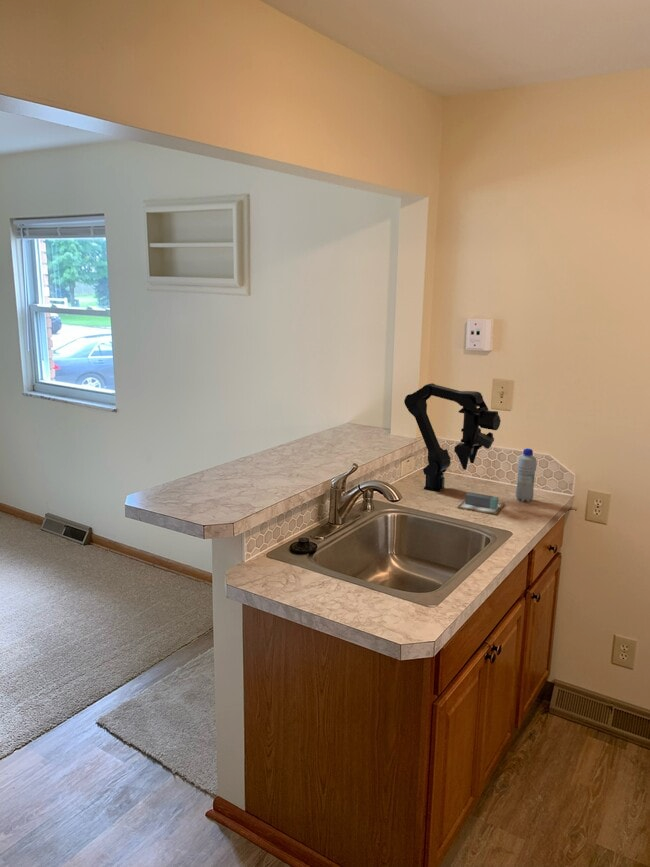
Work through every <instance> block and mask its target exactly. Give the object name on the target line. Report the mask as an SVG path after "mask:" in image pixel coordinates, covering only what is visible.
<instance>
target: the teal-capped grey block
mask: <svg viewBox="0 0 650 867" xmlns="http://www.w3.org/2000/svg"><path fill="white" fill-rule="evenodd" d="M465 499H466V500H465ZM465 499H464V500H465V504H469V505H474V506H480V507H485V508H491V509H496V508H497V507H498V503H499V496H493V495H490V494H487V495H486V494H483V493H481V494H480V493H475V492H470V491H469V492H467V493H466V494H465Z"/></svg>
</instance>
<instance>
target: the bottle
mask: <svg viewBox="0 0 650 867" xmlns="http://www.w3.org/2000/svg"><path fill="white" fill-rule="evenodd" d="M522 452H523V453H522V454H523V455H520V456H519V458H518V461H517V470H518V472H517V482H516V490H515V497H516V499H517V501H519V502H520V501H521V503H522V502H523V503H524V502H525V500H526V503H529V502H531V501H533V499H534V494H535V493H534V488H535V487H534V485H535V484H534V483H535V476H536V475H535V474H536V471H537V458H536V457H535V456H533V455H534V454H533V453H534V450H533V449H531V448H524V449H523V451H522Z"/></svg>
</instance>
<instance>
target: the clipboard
mask: <svg viewBox="0 0 650 867" xmlns="http://www.w3.org/2000/svg"><path fill="white" fill-rule="evenodd" d="M465 500H466V498H465V499H464V500H463V501H462V502H461V503H460V504H459V505H458V506H457V509H459V508H461V509H460V510H464V509H467V510H466V511H470V510H472V512H475V511H476V512H477V513H481V514H486V513H487V515H493V516H497V515H498V514H499V512H500V511H501V510H502V509H503V508H504V507H505V505H506V504H505V503H502V502H498V507H497V508H496V509H491V508H485V507H480V506H474V505H469V504H465Z"/></svg>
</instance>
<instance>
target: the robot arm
mask: <svg viewBox="0 0 650 867" xmlns="http://www.w3.org/2000/svg"><path fill="white" fill-rule="evenodd" d="M432 396H433V397H436V398H441V399H443V400H444V399H445V400H448V401H451V402H454V403H456V404H458V405H459V406H461V407H462V408H461V409H460V410H458V413H460V414H463V422H462V423H463V424H462V428H461V430H460V431H461V433H462V438H461V439H460V442H459V443H458V444H456V445H455V446H454V449H453V450H454V453H455V454H456V456H457V458H458V460H459V463H460V465H461V467H462V469H463V470H467V467H468V464H469V462H470V464H475V463H474V462H475V460H476V457H477V454H478V450H479V449H481V447H483V448H485V449H490V448H491V447H492V445H493V444H494V442H495V437H494V433H492V432H490V431H489V432H488V433H487V434H486V433H482V429H486V430H491V431H497V430H499V428H500V425H501V421H502V420H501V417H500V415H499V411H497V410H490V409H489V407H488V406H487V404H486V402H485V401H484V398H483V395H482V392H480V391H474V390H457V389H454V388H450V387H447V386H442V385H438V384H436V383H433V382H431V383H428V384H425V385H423V386H422V387H421V388H419V389H418V390H416V391H414V392H413V393H409V394H406V396H405V398H404V401H403V402H404V405H405V407H406V409H407V410H408V413H410V414H411V416H413V417H414V419H415V421H416V424H417V426H418V428H419V432H420V433H421V436H422V438H423V442H424V444H425V447H426V449H427V463H428V464H427V465H426V466H425V467H424V468H423V469H422V472H423V474H424V475H425V486H424V487H423V489H424V490H429V491H434V492H440V491H442V490H443V489H444V488H445V483H446V482H445V481H446V480H445V479H446V478H445V477H444V475H445V474H444V473H446V472H447V469H448V468H449V467H450V465H451V463H452V462H451V459H452V458H451V456H450V454H449V451H448V449H447V448H446V449H443V448H442V447H441V446H440V444H439V441H438V438H437V436H436V433H435V431H434V430H435V429H434V428H433V426H432V423H431V421H430V417H429V415H428V414H427V410H428V403H427V400H429V399H430V398H431V397H432Z"/></svg>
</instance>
